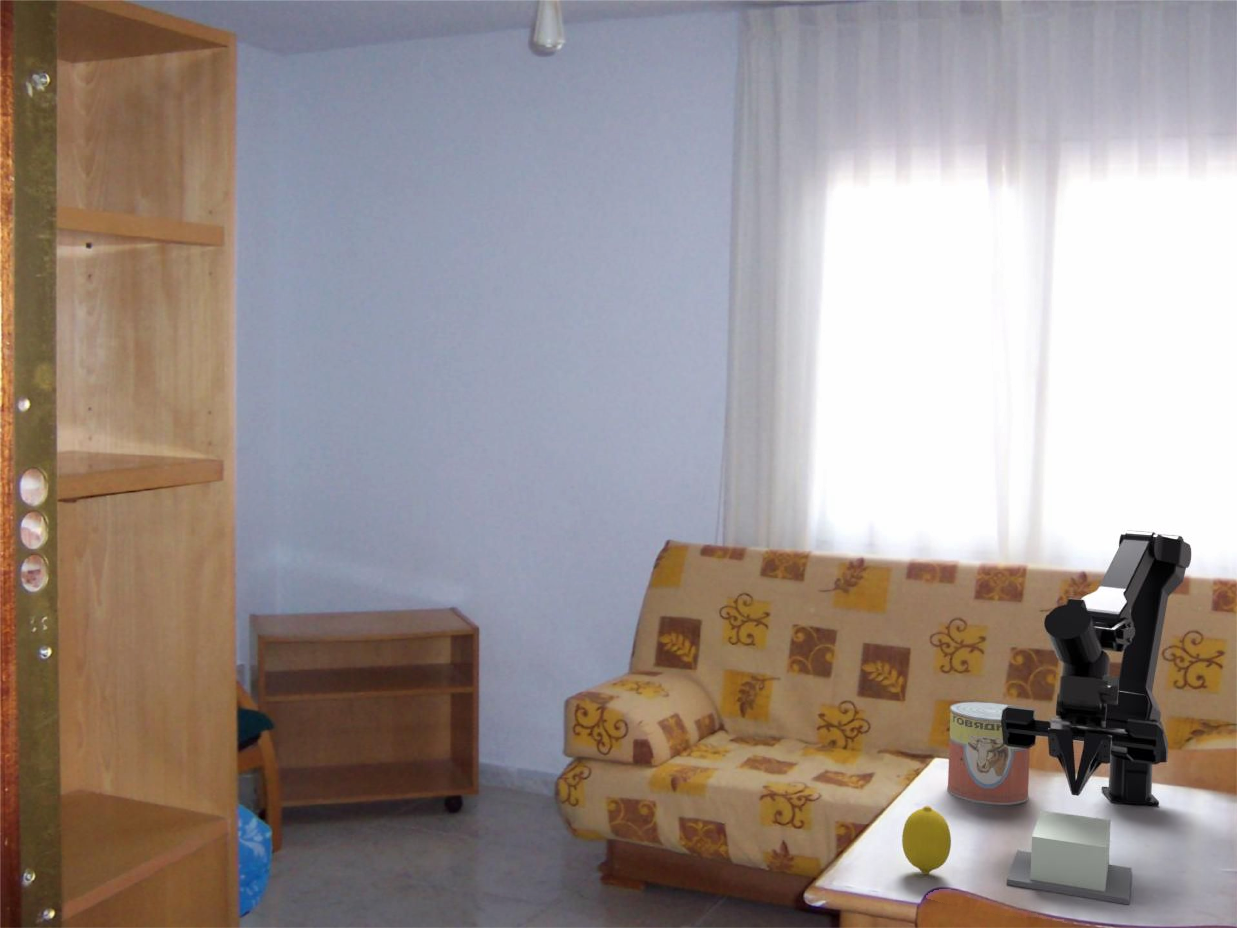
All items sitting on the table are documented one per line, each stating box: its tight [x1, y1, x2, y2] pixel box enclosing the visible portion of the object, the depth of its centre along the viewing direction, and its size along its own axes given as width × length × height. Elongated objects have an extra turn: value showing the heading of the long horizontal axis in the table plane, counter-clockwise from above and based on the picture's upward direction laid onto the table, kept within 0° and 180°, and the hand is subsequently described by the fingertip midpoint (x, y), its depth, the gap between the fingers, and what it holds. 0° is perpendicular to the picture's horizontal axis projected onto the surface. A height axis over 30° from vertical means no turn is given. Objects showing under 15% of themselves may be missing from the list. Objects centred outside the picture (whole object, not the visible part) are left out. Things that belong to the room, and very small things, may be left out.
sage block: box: [1030, 810, 1112, 891], centre depth 146 cm, size 5×8×11 cm
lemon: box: [901, 805, 952, 875], centre depth 145 cm, size 6×6×8 cm
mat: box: [1006, 849, 1132, 905], centre depth 145 cm, size 11×13×1 cm
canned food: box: [946, 701, 1031, 806], centre depth 179 cm, size 11×11×12 cm
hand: (1075, 793), depth 151 cm, fingers closed
